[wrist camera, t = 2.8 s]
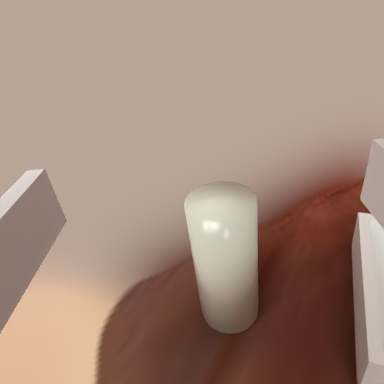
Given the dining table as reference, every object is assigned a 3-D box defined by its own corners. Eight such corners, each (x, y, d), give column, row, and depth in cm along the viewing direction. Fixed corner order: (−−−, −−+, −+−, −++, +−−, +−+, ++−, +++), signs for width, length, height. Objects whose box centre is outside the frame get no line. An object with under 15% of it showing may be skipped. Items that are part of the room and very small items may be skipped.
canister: (263, 291, 34) (263, 185, 27) (251, 341, 30) (247, 229, 22) (212, 280, 37) (198, 178, 29) (193, 324, 32) (172, 218, 24)
